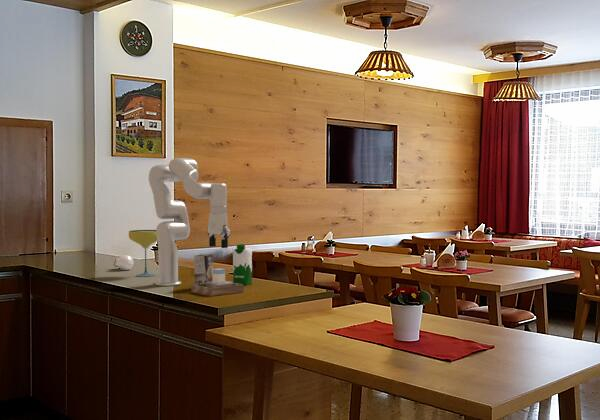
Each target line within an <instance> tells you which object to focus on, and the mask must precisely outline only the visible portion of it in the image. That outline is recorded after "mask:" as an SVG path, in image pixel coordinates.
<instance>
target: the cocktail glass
mask: <svg viewBox="0 0 600 420" xmlns="http://www.w3.org/2000/svg"><path fill="white" fill-rule="evenodd" d="M128 237H129V239H130V241H132V242H134V243H136V244H138V245H140V246H141V247H142V248H143V249H144V272H143V273H139V274H136V275H135V277H137V276H138V277H139V278H150V277H149V276H152V277H156V276H155V275H156V274H154V273H150V272H148V269H147V249H148V248H149V247H150V246H152V244H154V243H157V242H158V239H157V235H156V229H138V230H137V229H136V230H135V229H134V230H133V229H132V230H129V231H128Z"/></svg>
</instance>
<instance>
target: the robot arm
mask: <svg viewBox="0 0 600 420" xmlns="http://www.w3.org/2000/svg"><path fill="white" fill-rule="evenodd" d="M198 169H199V165H198V163H197V161H196V160H195V159H193V158H189V157H176V158H172V159H171V160H170V161H169V163H168V164H155V165H154V166H152V167H151V168H150V170H149V171H148V182H149V186H150V188H151V191H152V196H153V203H154V209H155V213H156V217H157V218H158V219H160V220H167V221H162V222H159V223H158V224H157V226H156V228H155V230H156V235H157V239H158V241H157V248H158V249H157V250H158V276H157V275H156V278H157V279H158V281H156V282H155V285H156V286H159V287H160V286H162V287H163V286H164V287H168V286H169V287H171V286H179V285H181V284H182V281H181V280H179V253H178V246H177V244H176V242H175V241H177V240H178V241H179V240H185V239H188V238H189V236H190V234H191V228H190V221H189V215H188V210H187V209H188V208H187V206H186V204H185V202H183V201H182V200H179V199H172V196H171V191H170V189H169V188H168V186H167V185H166V183H167V182H169V183H179V182H182V186H183V189H184V191H185V192H186V194H188V195H189V196H191V197H192V198H193V199H197V200H201V199H202V200H206V199H207V200H210V208H209V210H210V211H209V215H208V224H207V228H206V230H207V235H208V239H209V241H208V242H209V243H208V245H209V247H216V242H217V241H216V240H217V237H216V236H220V237H221V239H220V240H221V242H220V246H221V249H228V247H229V246H228V245H229V243H228V242H229V239H230V234H231V229H230V228H229V222H228V221H229V220H228V213H227V212H228V211H227V210H228V206H227V205H228V193H227V192H228V186H227V184H226V183H221V182H219V183H216V182H197V181H198V180H199V175H200V174H199V171H198ZM168 220H170V221H168ZM173 220H174V221H173Z"/></svg>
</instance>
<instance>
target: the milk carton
mask: <svg viewBox="0 0 600 420" xmlns="http://www.w3.org/2000/svg"><path fill="white" fill-rule="evenodd" d="M252 256H253V248H249V247H248V248H247V247H246V245H245V244H236V248H232V273H233V274H232V277H233V279H232V280H233V281H232V282H233V283H237V284H243V285H244V287H245V286H246V287H247V286H250V285H252V284H253V282H252V281H253V268H252V267H253V261H252V259H253V257H252Z"/></svg>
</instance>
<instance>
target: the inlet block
mask: <svg viewBox="0 0 600 420" xmlns="http://www.w3.org/2000/svg"><path fill="white" fill-rule="evenodd" d="M226 286H233V281H228V280H225V283H213V281H211V282H206V287H207V288H217V287H226Z"/></svg>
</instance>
